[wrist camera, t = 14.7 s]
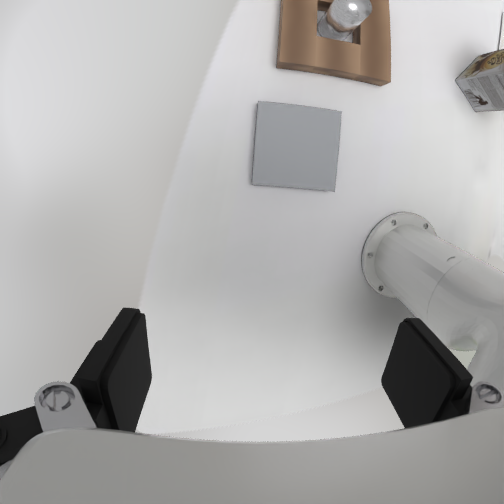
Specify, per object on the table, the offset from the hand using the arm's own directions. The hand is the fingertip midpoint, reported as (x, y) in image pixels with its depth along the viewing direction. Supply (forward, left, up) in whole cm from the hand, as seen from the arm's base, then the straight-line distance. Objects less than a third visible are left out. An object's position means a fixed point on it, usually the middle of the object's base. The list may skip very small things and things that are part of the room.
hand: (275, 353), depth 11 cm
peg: (-9, -25, -30) cm, 40 cm away
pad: (-5, -8, -30) cm, 32 cm away
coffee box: (-34, -24, -31) cm, 52 cm away
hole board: (-9, -25, -30) cm, 40 cm away
